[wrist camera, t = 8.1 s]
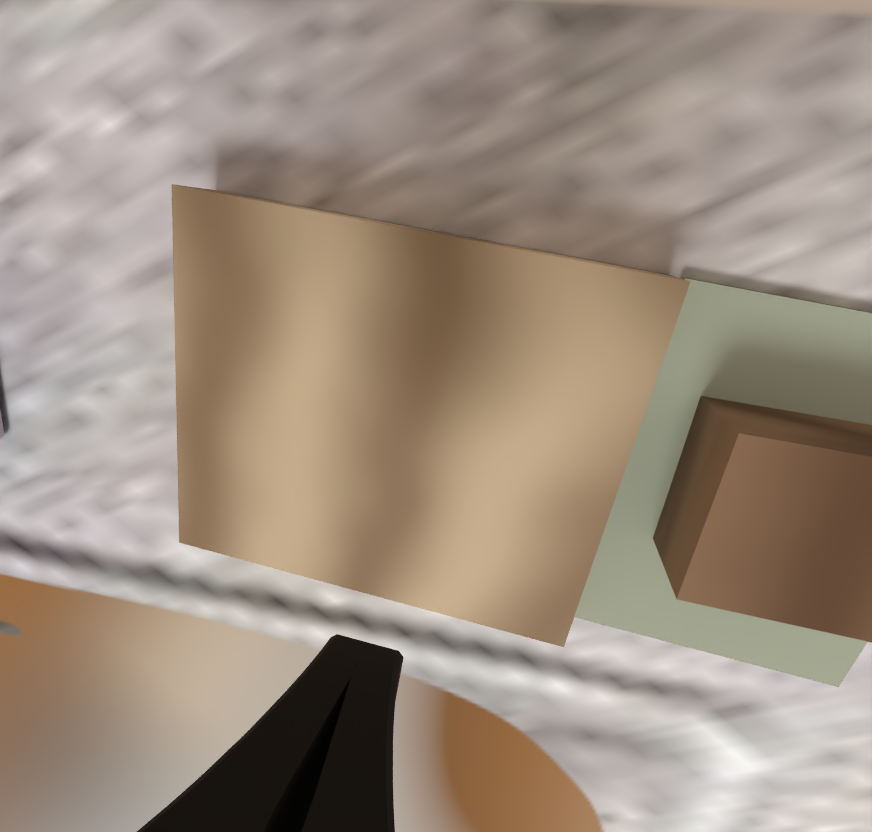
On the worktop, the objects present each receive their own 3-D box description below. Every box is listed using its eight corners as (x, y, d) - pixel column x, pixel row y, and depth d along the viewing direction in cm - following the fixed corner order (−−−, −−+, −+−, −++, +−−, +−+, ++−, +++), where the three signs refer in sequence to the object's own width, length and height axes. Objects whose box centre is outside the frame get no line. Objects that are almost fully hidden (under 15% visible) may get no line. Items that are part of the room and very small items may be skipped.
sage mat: (568, 607, 19) (569, 615, 18) (680, 277, 14) (684, 278, 14) (831, 677, 18) (838, 686, 17) (1040, 344, 13) (1054, 347, 13)
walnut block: (652, 538, 17) (676, 599, 14) (700, 395, 15) (738, 433, 12) (849, 578, 16) (915, 651, 13) (924, 433, 14) (1020, 482, 11)
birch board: (212, 514, 20) (179, 542, 18) (214, 190, 16) (171, 184, 14) (560, 605, 19) (563, 646, 17) (670, 275, 14) (690, 281, 12)
